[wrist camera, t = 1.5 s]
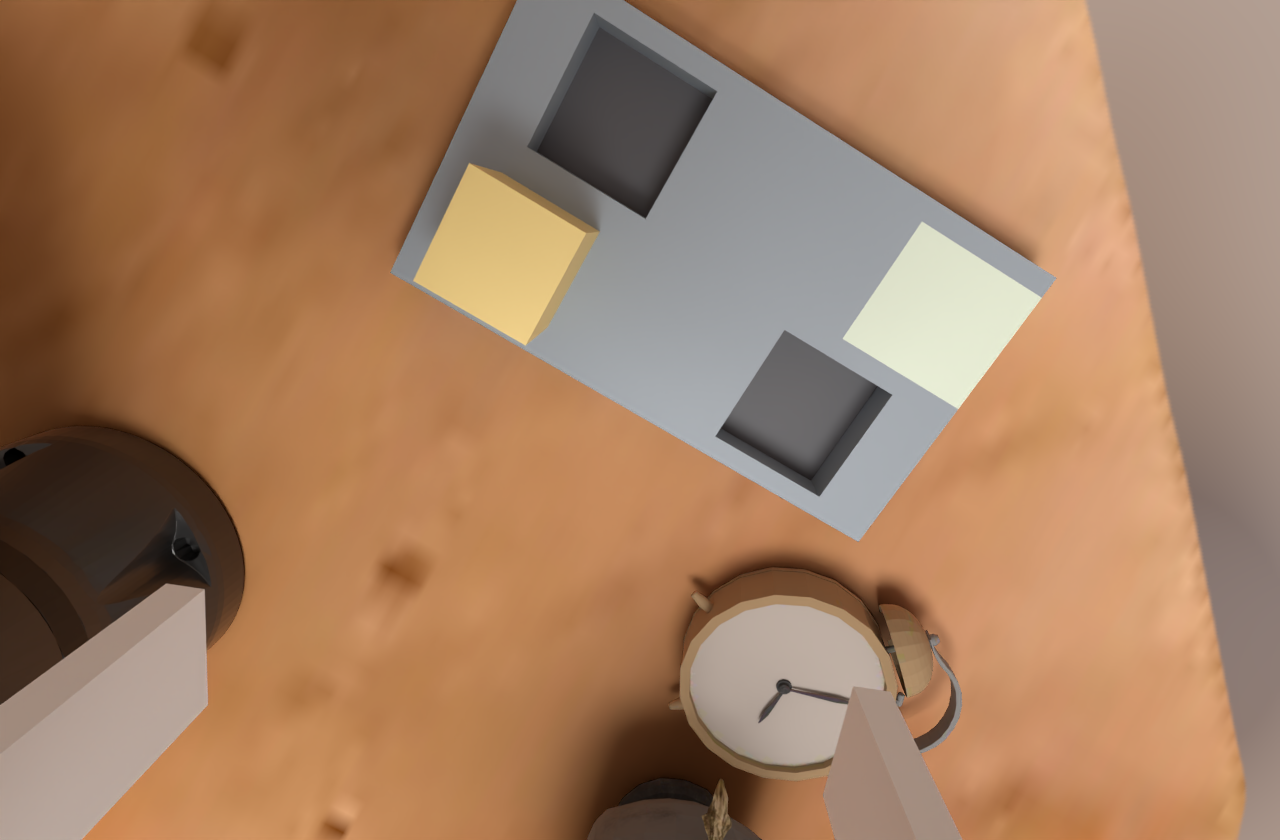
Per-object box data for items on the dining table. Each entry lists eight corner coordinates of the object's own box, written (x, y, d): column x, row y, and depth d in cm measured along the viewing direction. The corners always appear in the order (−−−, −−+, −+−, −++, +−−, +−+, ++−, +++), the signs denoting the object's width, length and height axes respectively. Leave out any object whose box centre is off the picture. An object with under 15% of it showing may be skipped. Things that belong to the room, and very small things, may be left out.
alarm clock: (694, 572, 35) (1005, 653, 33) (706, 534, 40) (980, 602, 37) (657, 752, 38) (938, 839, 36) (672, 697, 43) (922, 771, 40)
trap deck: (409, 269, 34) (390, 272, 32) (551, -32, 30) (541, -53, 28) (846, 522, 37) (858, 541, 35) (1029, 274, 33) (1056, 278, 31)
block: (452, 272, 32) (412, 280, 27) (501, 172, 31) (469, 163, 26) (547, 327, 32) (525, 345, 28) (599, 231, 31) (586, 233, 26)
